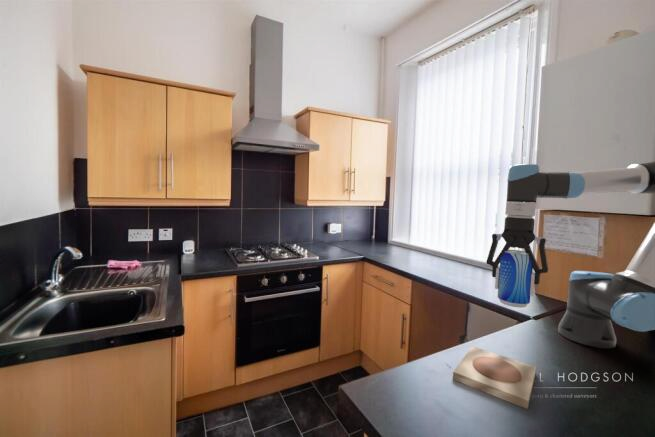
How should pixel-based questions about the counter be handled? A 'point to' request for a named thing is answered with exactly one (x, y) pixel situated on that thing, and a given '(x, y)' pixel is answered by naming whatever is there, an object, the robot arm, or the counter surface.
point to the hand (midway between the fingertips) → (513, 291)
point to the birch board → (497, 375)
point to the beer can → (515, 278)
